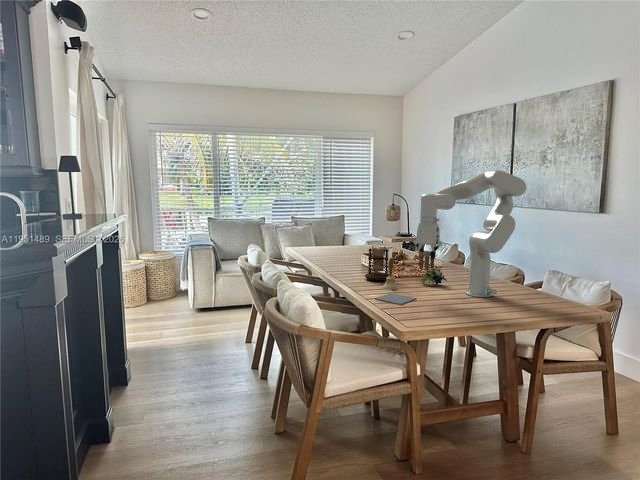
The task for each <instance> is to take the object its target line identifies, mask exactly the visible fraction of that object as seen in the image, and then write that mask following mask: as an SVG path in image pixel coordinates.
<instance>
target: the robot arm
mask: <svg viewBox="0 0 640 480" xmlns="http://www.w3.org/2000/svg"><path fill="white" fill-rule="evenodd" d="M490 189H493V191H494V194H495V204H494V205H493V206H492V208H491V210H490V211H489V213H488V214H487V216H486V217H485V219H484V221H483V224H482V226H483V229H484V230H485V231H483V230H482V231H481V230H478V231H474V232H473V233H471V235H470V236H469V240H468V244H469V252H470V253H469V255H470V256H469V276H468V277H469V279H468V289H466V290H465V291H464V292H465V295H467V296H470V297H476V298H490V297H492V296H493V295H498V289H495V288H492V286H491V285H490V279H491V277H490V276H491V264H492V260H491V259H492V258H491V254H497V253H498V252H501V250H502V249H503V248H504V246H505V245H506V244H507V242H508V241H509V239H510V238H511V236H512V235H513V233H514V232H515V229H516V220H515V218H514V217H513V216H512V215H511V213H512V211H513V210H514V203H513V202H514V201H513V198H512V197H520V196H523V194H525V193H526V191H527V184H526V181H525V180H523V178H520V177H518V176H515V175H513V174H512V173H509V172H506V171H504V170H499V169H497V170H495V169H494V170H486V171H483V172H481V173H478V174H476V175H475V176H473V177H471V178H470V177H469V179H467V180H464V181H462V182H458V183H457V184H454V185H451V186H448V187H445V188H443V189H441V190H439V191H436V192H434V193H424V194H422V195H421V196H420V216H419V217H420V218H419V222H418V225H417V230H416V237H415V239H414V240H413V242H412V243H413V244H414V245H415V246H416V248H417V249H418V253H419V252H422V251H425V250H424V247H425V245H427V246H430V248H431V250H430V251H431V256H429V260H430V261H431V260H433V259H434V260H435V259H436V254H437V251H438V249H440V248H441V247H442V246H443V245H444V244H443V242H442V240H441V236H440V235H441V233H440V226H439V223H438V222H440V218H438V210H442V211H447V210H448V211H449V210H452V209H453V208H454V207H455V206H456V203H457V202H456V201H460V200H461V201H462V200H467V199H472V198H474V197H475V196H478V195H481V193H484V192H485V191H488V190H490ZM418 256H419V259H420V255H419V254H418ZM423 259H425V256H423Z"/></svg>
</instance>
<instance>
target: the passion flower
mask: <svg viewBox="0 0 640 480" xmlns="http://www.w3.org/2000/svg"><path fill="white" fill-rule="evenodd" d="M443 280H444V281H447V278H446V277H445V275H444V272H441V269H438V268H435V267H434V268H433V269H432V268H431V269H429V270H425V274H424V275H423V276H422V277H421V280H420V283H422V284H425V282H426V281H427V282H428V284H429V285H431V287H433V286H434V285H435V284H436V285H438V284H442V281H443ZM430 283H431V284H430Z"/></svg>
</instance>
